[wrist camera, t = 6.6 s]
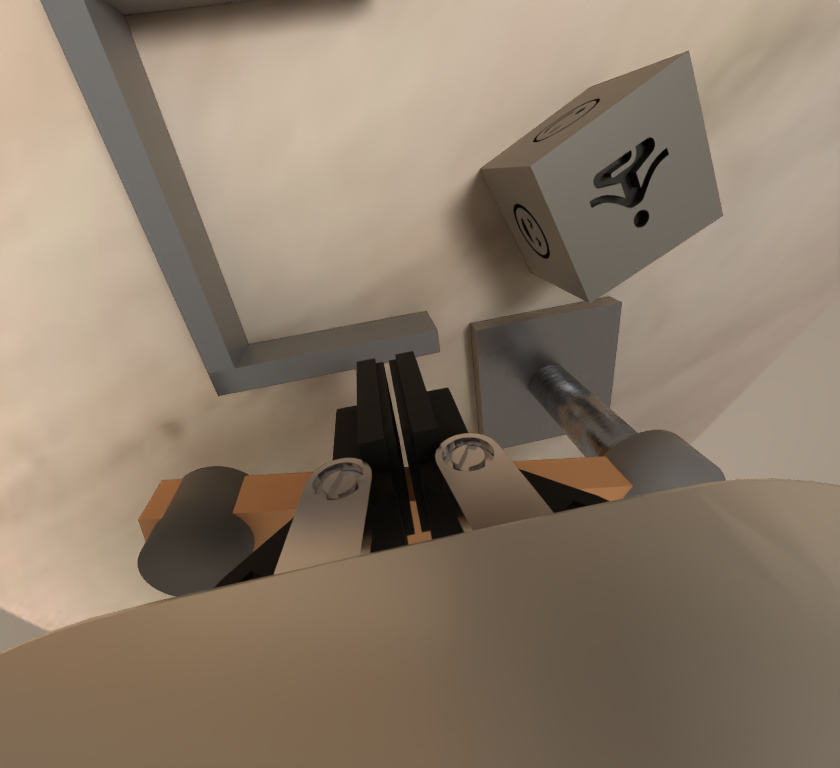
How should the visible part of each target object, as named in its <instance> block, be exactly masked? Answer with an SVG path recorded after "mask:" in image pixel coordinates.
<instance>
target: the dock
mask: <svg viewBox="0 0 840 768" xmlns="http://www.w3.org/2000/svg"><path fill="white" fill-rule="evenodd" d="M40 1H41V3H42V5H43V8H44V10H45V12H46V14H47V16H48V19H49V21H50V23H51V25H52V28H53V30H54V32H55V34H56V36H57V39H58V41H59V43H60V45H61V48H62V50H63V52H64V54H65V56H66V59H67V61H68V63H69V65H70V68H71V70H72V72H73V74H74V76H75V79H76V81H77V83H78V85H79V88H80V90H81V92H82V94H83V96H84V99H85V101H86V103H87V105H88V108H89V110H90V112H91V114H92V116H93V119H94V121H95V123H96V125H97V128H98V130H99V132H100V134H101V136H102V139H103V141H104V143H105V145H106V148H107V150H108V152H109V154H110V156H111V159H112V161H113V163H114V165H115V168H116V170H117V172H118V174H119V176H120V179H121V181H122V183H123V185H124V188H125V190H126V192H127V194H128V196H129V199H130V201H131V203H132V205H133V208H134V210H135V212H136V214H137V216H138V219H139V221H140V223H141V225H142V228H143V230H144V232H145V234H146V236H147V239H148V241H149V243H150V245H151V248H152V250H153V252H154V254H155V256H156V259H157V261H158V263H159V265H160V268H161V270H162V272H163V274H164V276H165V279H166V281H167V283H168V285H169V288H170V290H171V292H172V294H173V296H174V299H175V301H176V303H177V305H178V308H179V310H180V312H181V314H182V316H183V319H184V321H185V323H186V325H187V328H188V330H189V332H190V334H191V336H192V339H193V341H194V343H195V345H196V348H197V350H198V352H199V354H200V356H201V359H202V361H203V363H204V365H205V368H206V370H207V372H208V374H209V376H210V379H211V381H212V383H213V385H214V388H215V390H216V392H217V394H218V396H221V395H226V394H231V393H236V392H241V391H246V390H251V389H256V388H261V387H266V386H271V385H276V384H281V383H286V382H291V381H296V380H301V379H307V378H312V377H317V376H322V375H327V374H332V373H337V372H342V371H347V370H352V369H357V361H362V360H368V359H373V358H375V360H376V363H378V362H383V363H387V362H389V360H394V359H396V357H395V354H399V353H405V352H410V351H413V352H414V355H415V357H418V356H423V355H428V354H433V353H438V352H440V347H439V339H438V331H437V328H436V326H435V325H434V323H433V321H432V320H431V318H430V316H429V315H428V313H427V311H423V312H418V313H412V314H407V315H402V316H397V317H391V318H386V319H381V320H375V321H370V322H365V323H359V324H354V325H349V326H344V327H338V328H333V329H328V330H322V331H317V332H312V333H306V334H301V335H296V336H291V337H285V338H280V339H275V340H269V341H264V342H259V343H253V344H248V341H247V339H246V336H245V333H244V331H243V328H242V325H241V323H240V320H239V317H238V315H237V312H236V310H235V307H234V304H233V302H232V299H231V296H230V294H229V291H228V288H227V286H226V283H225V280H224V278H223V275H222V273H221V270H220V267H219V265H218V262H217V259H216V257H215V254H214V251H213V249H212V246H211V243H210V241H209V238H208V236H207V233H206V230H205V228H204V225H203V222H202V220H201V217H200V214H199V212H198V209H197V206H196V204H195V201H194V199H193V196H192V193H191V191H190V188H189V185H188V183H187V180H186V177H185V175H184V172H183V169H182V167H181V164H180V162H179V159H178V156H177V154H176V151H175V148H174V146H173V143H172V140H171V138H170V135H169V133H168V130H167V127H166V125H165V122H164V119H163V117H162V114H161V111H160V109H159V106H158V103H157V101H156V98H155V96H154V93H153V90H152V88H151V85H150V82H149V80H148V77H147V74H146V72H145V69H144V66H143V64H142V61H141V59H140V56H139V53H138V51H137V48H136V45H135V43H134V40H133V37H132V35H131V32H130V29H129V27H128V24H127V22H126V19H125V16H124V15H130V14H138V13H147V12H155V11H163V10H172V9H180V8H188V7H197V6H205V5H213V4H222V3H230V2H239V1H247V0H40Z"/></svg>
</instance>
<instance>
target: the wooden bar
mask: <svg viewBox="0 0 840 768" xmlns="http://www.w3.org/2000/svg"><path fill="white" fill-rule="evenodd" d="M512 462H513V463H514V464H515V465H516V467H517V468H518V469H521V470H524V471H527V472H530V473H533V474H536V475H539V476H542V477H545V478H548V479H551V480H554V481H556V482H559V483H562V484H565V485H568V486H571V487H574V488H577V489H580V490H583V491H586V492H589V493H592V494H595V495H597V496H600V497H602V498H604V499H606V500H609V501H614V500H618V499H623V498H628V497H633V496H637V495H642V494H646V493H652V492H657V491H663V490H668V489H674V488H680V487H685V486H691V485H696V484H702V483H707V482H716V481H726V480H725V476H724V474H723V472H722V471H721V470H720V468H718V467H717V466H716V465H715V464H713V463H712V462H711V461H710V460H708V459H707V458H706V457H705V456H703V455H702V454H700V453H699V452H698V451H697V450H695V449H694V448H693V447H692V446H690V445H689V444H688V443H687V442H685V441H684V440H683V439H681V438H680V437H679V436H678V435H676V434H674V433H672V432H669V431H665V430H650V431H645V432H641V433H638V434H635V435H633V436H630V437H628V438H626V439H624V440H623V441H621V442H620V443H618V444H617V445H615V446H614V447H613V448H611V449H610V450H609V451H608V452H607V453H606V454H605V455H604V456H603V457H584V458H566V459H547V460H529V461H512ZM404 470H405V476H406V482H407V488H408V494H409V500H410V506H411V512H412V517H413V523H414V529H415V534H414V535H409V536H407V538H408V545H409V544H414V543H418V542H423V541H427V540H432V537H431V532H430V531H428V532H423V533H422V531H421V526H420V521H419V516H418V511H417V506H416V501H415V495H414V490H413V485H412V480H411V475H410V470H409V467H404ZM313 473H314V472H306V473H287V474H269V475H250V476H249V475H248V474H246V473H244V472H242V471H239V470H237V469H233V468H229V467H221V466H213V467H205V468H201V469H197V470H195V471H193V472H190V473H189V474H187V475H186V476H184V477H183V478H182V479H176V480H162V481H161V483H160V485H159V486H158V488H157V490H156V491H155V493H154V495H153V496H152V498H151V500H150V501H149V503H148V505H147V506H146V508H145V510H144V511H143V513H142V515H141V516H140V518H139V520H138V521H139V524H140V526H141V529H142V532H143V535H144V538H145V541H146V543H145V545H144V546H143V548H142V550H141V552H140V554H139V557H138V568H139V572H140V574H141V576H142V577H143V578H144V580H145V581H146V582H147V583H148V584H150V585H151V586H152V587H154V588H155V589H157V590H159V591H161V592H163V593H166V594H169V595H172V596H176V597H177V596H182V595H186V594H190V593H195V592H199V591H204V590H208V589H213V588H214V587H215V586H216V585H217V584H218V583H219V582H220V581H221V580H222V579H223V578H224V577H225V576H226V575H227V574H228V573H230V572H231V571H232V570H233V569H234V568H235V567H237V566H238V565H239V564H240V563H241V562H242V561H243V560H245V559H246V558H247V557H248V556H249V555H250V554H252V553H253V552H254V551H255V550H256V549H257V548H259V547H260V546H261V545H262V544H263V543H264V542H266V541H267V540H268V539H269V538H270V537H271V536H272V535H274V534H275V533H276V532H277V531H278V530H279V529H281V528H282V527H283V526H284V525H285V524H286V523H288V522H289V521H290V520H291V519H292V518H293V517H294V515H295V513H296V510H297V507H298V504H299V501H300V498H301V496H302V493H303V490H304V487H305V484H306V482H307V480H308V479H309V477H310V476H311V475H312V474H313Z"/></svg>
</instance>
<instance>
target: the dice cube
mask: <svg viewBox="0 0 840 768" xmlns="http://www.w3.org/2000/svg"><path fill="white" fill-rule="evenodd" d="M480 170H481V172H482V174H483V176H484V178H485V180H486V182H487V184H488V186H489V188H490V191H491V193H492V195H493V197H494V199H495V201H496V203H497V205H498V207H499V209H500V211H501V213H502V215H503V217H504V219H505V221H506V223H507V225H508V227H509V229H510V231H511V233H512V235H513V237H514V239H515V241H516V243H517V245H518V247H519V249H520V251H521V253H522V255H523V257H524V259H525V261H526V263H527V265H528V267H529V269H530V271H531V273H532V274H534V275H536V276H538V277H540V278H542V279H544V280H546V281H548V282H550V283H552V284H554V285H556V286H558V287H559V288H561V289H563V290H565V291H567V292H569V293H571V294H573V295H575V296H577V297H579V298H581V299H583V300H585V301H587V302H588V303H591V302H593V301H594V300H596V299H597V298H599V297H600V296H602V295H603V294H605V293H606V292H608V291H609V290H611V289H612V288H614V287H615V286H617V285H618V284H620V283H621V282H623V281H625V280H626V279H628V278H629V277H631V276H632V275H634V274H635V273H637V272H638V271H640V270H641V269H643V268H644V267H646V266H647V265H649V264H650V263H652V262H653V261H655V260H656V259H658V258H659V257H661V256H662V255H664V254H666V253H667V252H669V251H670V250H672V249H673V248H675V247H676V246H678V245H679V244H681V243H682V242H684V241H685V240H687V239H688V238H690V237H691V236H693V235H694V234H696V233H697V232H699V231H700V230H702V229H703V228H705V227H706V226H708V225H710V224H711V223H713V222H714V221H716V220H717V219H719V218H720V217H722V216H723V213H722V208H721V203H720V198H719V193H718V189H717V184H716V179H715V174H714V169H713V164H712V160H711V155H710V150H709V145H708V140H707V136H706V131H705V126H704V121H703V116H702V111H701V107H700V102H699V97H698V92H697V87H696V82H695V78H694V73H693V68H692V63H691V58H690V53H689V51H687V52H684V53H681V54H678V55H676V56H673V57H670V58H668V59H665V60H662V61H659V62H657V63H654V64H651V65H649V66H646V67H643V68H640V69H638V70H635V71H632V72H630V73H627V74H624V75H621V76H619V77H616V78H613V79H611V80H608V81H605V82H602V83H600V84H597V85H594V86H592V87H590V88H588V89H587V90H586V91H584V92H583V93H582V94H580V95H579V96H578V97H576V98H575V99H574V100H572V101H571V102H570V103H568V104H567V105H566V106H564V107H563V108H561V109H560V110H559V111H557V112H556V113H555V114H553V115H552V116H551V117H549V118H548V119H547V120H545V121H544V122H543V123H541V124H540V125H539V126H537V127H536V128H535V129H533V130H532V131H531V132H529V133H528V134H526V135H525V136H524V137H522V138H521V139H520V140H518V141H517V142H516V143H514V144H513V145H512V146H510V147H509V148H508V149H506V150H505V151H504V152H502V153H501V154H500V155H498V156H497V157H496V158H494V159H493V160H491V161H490V162H489V163H487V164H486V165H485V166H483V167H482V168H481V169H480Z"/></svg>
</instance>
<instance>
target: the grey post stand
mask: <svg viewBox="0 0 840 768" xmlns="http://www.w3.org/2000/svg"><path fill="white" fill-rule="evenodd" d="M621 306H622V302H620V301H618V300H616V299H614V298H612V297H604V298H599V299H596V300H594V301H593V302H591V303H588V302H587V301H583V302H578V303H573V304H568V305H563V306H557V307H552V308H547V309H542V310H537V311H531V312H526V313H521V314H516V315H511V316H506V317H500V318H495V319H490V320H485V321H480V322H475V323H470V327H471V339H472V352H473V364H474V376H475V389H476V401H477V414H478V426H479V434H481V435H485V436H487V437H489V438H492V439H493V440H494V441H495V442H496V443H498V444H499V446H500V447H501V448H507V447H511V446H516V445H520V444H525V443H529V442H534V441H538V440H543V439H547V438H552V437H556V436H561V435H567V436H568V437H569V438H570V439H571V440H572V442H573V443H574V444H575V445H576V446H577V447H578V449H579V450H580V451H581V452H582V453H583V454H584V456H585V457H603V456H604V455H605V454H606V453H607V452H608V451H609V450H610V449H611V448H613V447H614V446H615V445H617V444H618V443H620V442H621V441H623V440H624V439H626V438H628V437H630V436H633V435H635V434H638V433H637V432H636V431H635V430H633V429H632V428H631V427H630V426H629V425H628V424H627V423H626V422H624V421H623V420H622V419H621V418H620V417H619V416H618V415H616V414H615V413H614V412H613V411H612V410H611V409H610V402H611V394H612V385H613V376H614V367H615V358H616V350H617V341H618V332H619V323H620V314H621Z"/></svg>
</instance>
